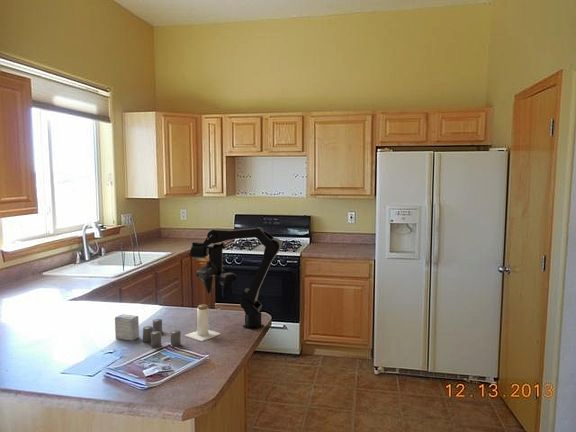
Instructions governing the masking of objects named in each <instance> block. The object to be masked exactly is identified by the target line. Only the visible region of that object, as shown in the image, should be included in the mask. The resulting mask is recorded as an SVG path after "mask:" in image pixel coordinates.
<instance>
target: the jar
mask: <svg viewBox="0 0 576 432" xmlns="http://www.w3.org/2000/svg"><path fill="white" fill-rule="evenodd" d="M196 309H197V310H196V311H197V312H196V316H197V317H196V320H197V321H196V323H197V324H196V326H197V327H196V331H197V335H198V336H206V335H208V334H209V330H210V329H209V321H210V320H209V319H210V317H209V305H208V304H205V303H204V304H203V303H202V304H199V305H198V306H197V308H196Z"/></svg>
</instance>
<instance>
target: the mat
mask: <svg viewBox="0 0 576 432" xmlns="http://www.w3.org/2000/svg"><path fill="white" fill-rule="evenodd" d="M218 336H221V333H220V332H217V331H214V330H210V329H209V334H208V335H206V336H198V335H197V330H196V331H193V332H190V333H187V334H184V337H186V338H189V339H193V340H195V341H198V342H205V341H207V340H209V339H212V338H215V337H218Z"/></svg>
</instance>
